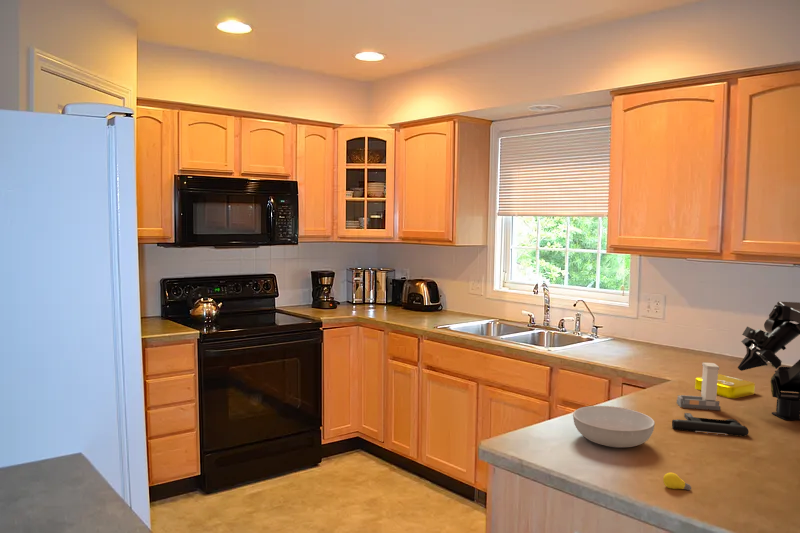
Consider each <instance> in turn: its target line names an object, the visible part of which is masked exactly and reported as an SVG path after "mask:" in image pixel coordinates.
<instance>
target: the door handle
mask: <svg viewBox="0 0 800 533" xmlns="http://www.w3.org/2000/svg"><path fill="white" fill-rule="evenodd" d="M683 416H684V418H685V419H672V421H671V427H672V428H671V429H674V430H676V429H678V430H677V431H684V430H688V431H687V432H694V433H697V432H707V433H706V434H708V433H717V434H716V435H718V434H725V435H724V436H735V435H738V437H747V436H748V435H749V429H748V427H747V426H745V425H742V424H741V423H740V422H739V421H737V420H736V419H733V418H727V419H716V418H708V417H707V418H706V417H698V416H697V417H694V415H692V413H690V412H684V414H683ZM686 419H687V420H686ZM727 434H728V435H727Z"/></svg>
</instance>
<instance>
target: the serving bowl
mask: <svg viewBox="0 0 800 533" xmlns="http://www.w3.org/2000/svg"><path fill="white" fill-rule="evenodd" d="M572 416H573V423H574V426H575V428H576V430H577V431H578V432H579V434H580V435H581V436H583V437H584V438H585V439H587V440H589V441H591V442H592V443H595V444H598V445H602V446H605V447H608V448H609V447H610V448H632V447H636V446H639V445H642V444H644V443H646V442H647V441H648V440H649V439H650V438H651V437H652V436H653V435H652V434H653V433H654V430H655V425H656V422H655V420H654V419H653V418H652V417H651V416H649V415H647V414H645V413H642V412H640V411H637V410H633V409H630V408H625V407H621V406H620V407H618V406H613V405H611V406H609V405H589V406H583V407H582V406H581V407H579V408H578V409H575V410H574V411H573V413H572Z"/></svg>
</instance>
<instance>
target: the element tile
mask: <svg viewBox="0 0 800 533" xmlns="http://www.w3.org/2000/svg"><path fill="white" fill-rule="evenodd" d="M694 381H695V382H694V389H695V390H697V391H701V388H702V376H697V377H695V379H694ZM755 388H756V383H755V382H754V381H750V380H745V379H741V378H738V377H734V376H733V377H732V376H728V375H724V374H720V373H718V381H717V396H720V397H723V398H728V399H739V398H743V397H747V396H753V395H754V394H755V391H756V390H755Z"/></svg>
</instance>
